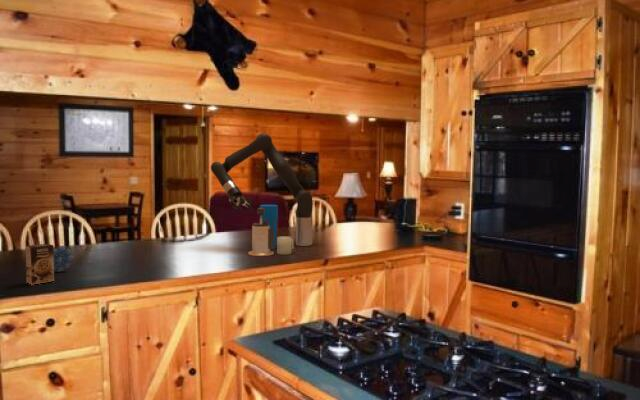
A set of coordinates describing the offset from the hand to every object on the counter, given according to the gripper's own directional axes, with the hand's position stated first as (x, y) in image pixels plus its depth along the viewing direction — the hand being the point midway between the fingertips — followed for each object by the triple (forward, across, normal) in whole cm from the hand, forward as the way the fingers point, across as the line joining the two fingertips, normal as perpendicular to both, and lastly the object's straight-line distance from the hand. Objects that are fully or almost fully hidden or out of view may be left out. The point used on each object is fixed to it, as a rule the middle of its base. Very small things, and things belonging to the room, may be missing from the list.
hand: (246, 211), depth 304 cm
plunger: (+21, 0, +6) cm, 22 cm away
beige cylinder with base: (+24, 0, +8) cm, 25 cm away
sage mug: (+30, +10, +2) cm, 32 cm away
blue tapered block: (+16, +19, +16) cm, 30 cm away
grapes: (-5, -92, +39) cm, 100 cm away
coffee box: (+5, -108, +28) cm, 112 cm away
